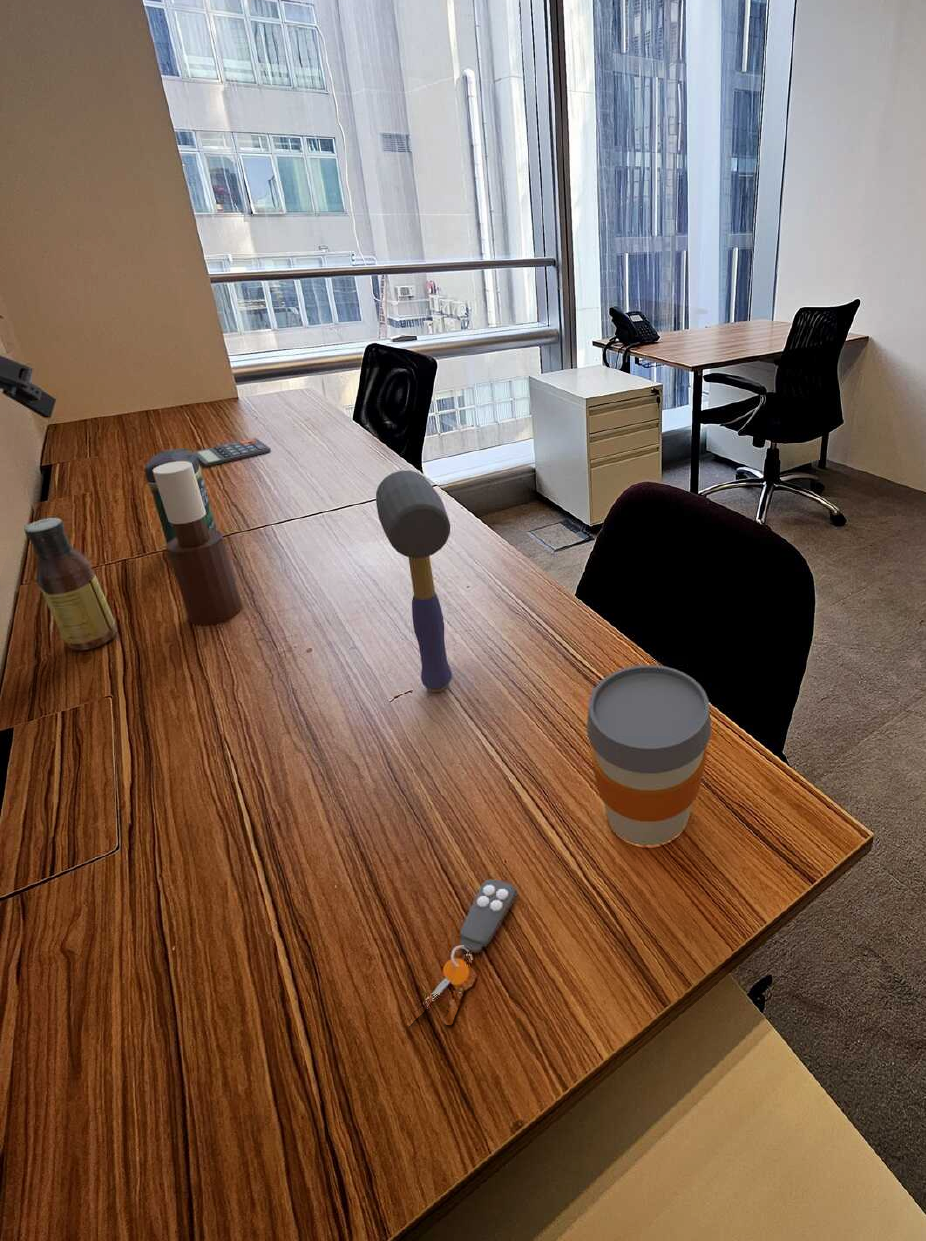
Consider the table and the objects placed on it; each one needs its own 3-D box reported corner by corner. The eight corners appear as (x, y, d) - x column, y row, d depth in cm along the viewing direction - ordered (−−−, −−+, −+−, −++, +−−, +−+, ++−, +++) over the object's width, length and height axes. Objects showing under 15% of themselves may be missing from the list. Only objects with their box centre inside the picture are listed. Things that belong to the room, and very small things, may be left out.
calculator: (270, 448, 173) (204, 463, 163) (271, 451, 173) (205, 466, 164) (255, 437, 181) (191, 451, 171) (256, 440, 181) (192, 454, 171)
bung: (166, 539, 99) (145, 473, 95) (184, 524, 104) (164, 461, 100) (200, 538, 100) (180, 473, 95) (216, 524, 104) (198, 460, 100)
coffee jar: (216, 553, 125) (189, 460, 118) (166, 561, 122) (135, 466, 115) (223, 531, 133) (198, 442, 126) (176, 538, 130) (148, 448, 123)
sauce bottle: (89, 627, 104) (43, 511, 96) (129, 628, 104) (86, 512, 96) (54, 654, 98) (1, 532, 90) (96, 655, 98) (47, 533, 90)
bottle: (180, 626, 104) (147, 528, 97) (204, 600, 111) (175, 507, 104) (228, 624, 105) (199, 527, 98) (250, 599, 111) (224, 505, 104)
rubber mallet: (476, 706, 88) (451, 497, 76) (418, 724, 85) (381, 510, 73) (455, 652, 98) (429, 461, 86) (402, 667, 95) (367, 471, 83)
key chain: (484, 883, 66) (483, 873, 65) (519, 894, 65) (518, 883, 64) (405, 1028, 54) (403, 1017, 54) (446, 1043, 53) (444, 1032, 53)
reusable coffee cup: (724, 846, 69) (732, 734, 63) (605, 878, 66) (602, 764, 60) (682, 756, 80) (686, 654, 74) (579, 780, 77) (574, 675, 71)
